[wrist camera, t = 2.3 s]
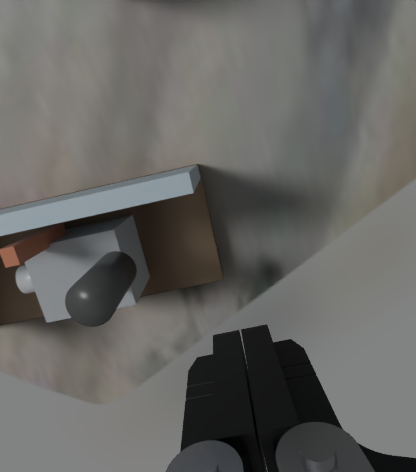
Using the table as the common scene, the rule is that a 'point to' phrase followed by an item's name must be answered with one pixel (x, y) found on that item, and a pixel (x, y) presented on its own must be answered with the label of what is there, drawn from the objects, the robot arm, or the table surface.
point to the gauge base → (153, 245)
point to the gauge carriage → (81, 269)
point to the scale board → (99, 200)
